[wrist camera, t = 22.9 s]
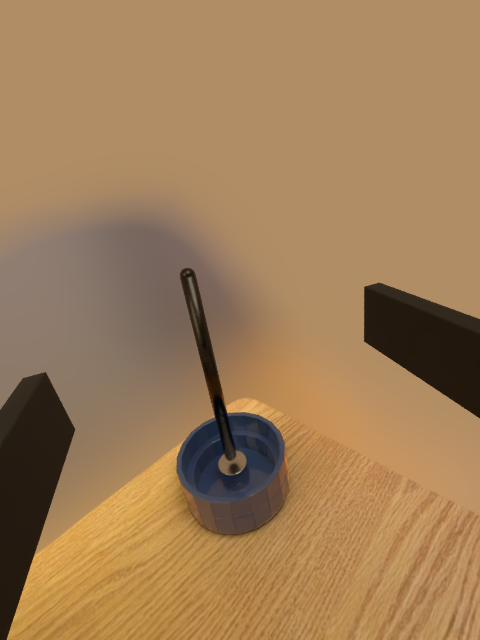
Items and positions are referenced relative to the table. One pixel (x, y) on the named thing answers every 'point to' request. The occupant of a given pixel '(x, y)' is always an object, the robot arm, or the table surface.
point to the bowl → (206, 484)
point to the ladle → (214, 388)
